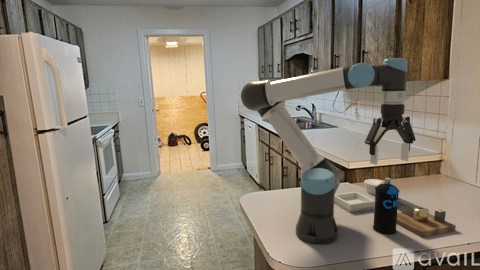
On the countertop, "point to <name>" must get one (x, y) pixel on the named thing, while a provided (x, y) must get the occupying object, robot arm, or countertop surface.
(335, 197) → the tray
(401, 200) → the crank lever
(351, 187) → the countertop surface
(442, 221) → the crank base
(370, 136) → the robot arm
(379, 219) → the aerosol can
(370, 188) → the ramekin
